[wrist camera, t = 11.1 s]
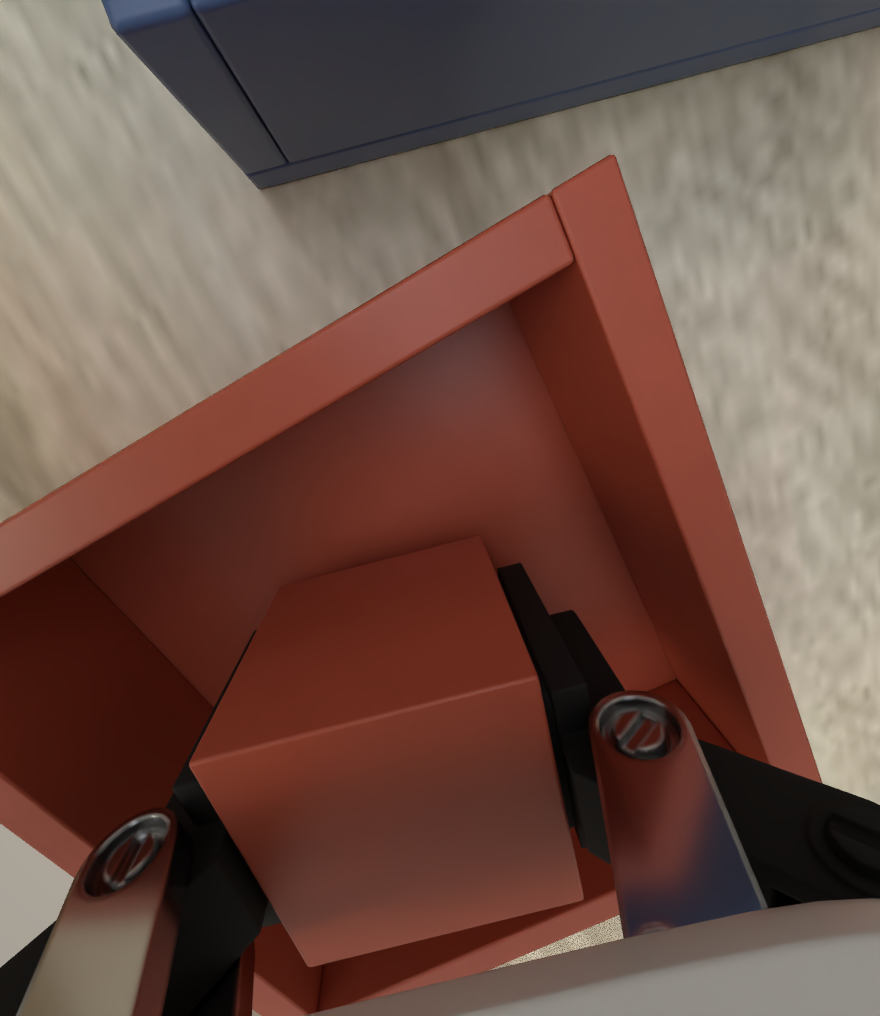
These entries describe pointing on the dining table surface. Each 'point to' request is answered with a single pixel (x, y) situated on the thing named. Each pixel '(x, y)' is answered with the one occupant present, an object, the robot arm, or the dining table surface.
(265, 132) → the blue bin
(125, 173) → the dining table surface
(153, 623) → the terracotta bin
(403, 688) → the terracotta block
